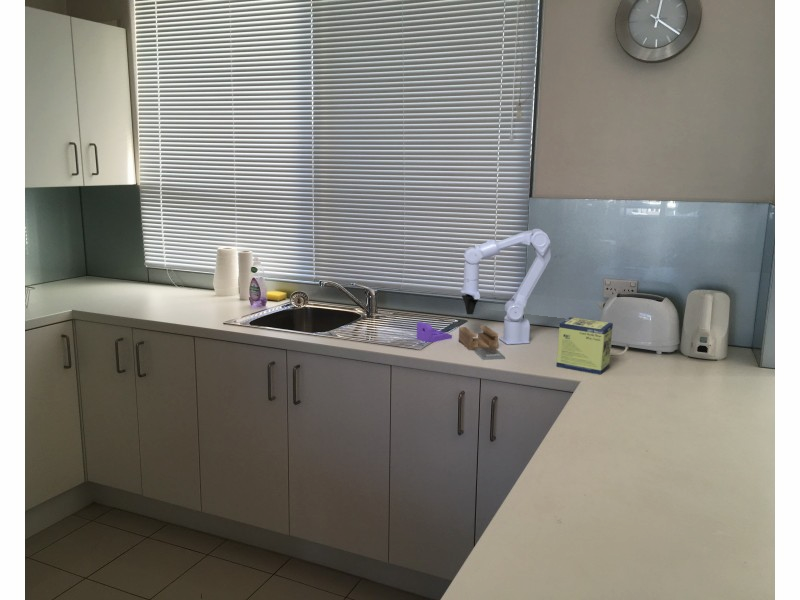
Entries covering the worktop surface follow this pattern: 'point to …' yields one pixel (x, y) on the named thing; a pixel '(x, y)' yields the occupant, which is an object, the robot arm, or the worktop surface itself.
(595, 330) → the protein box
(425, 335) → the bracket
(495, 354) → the cover plate
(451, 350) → the worktop surface
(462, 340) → the sleeve box
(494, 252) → the robot arm
